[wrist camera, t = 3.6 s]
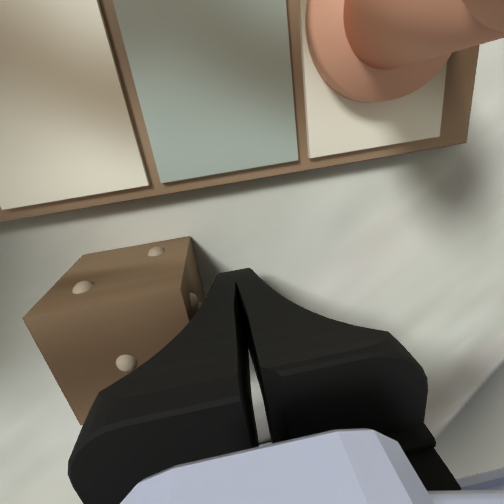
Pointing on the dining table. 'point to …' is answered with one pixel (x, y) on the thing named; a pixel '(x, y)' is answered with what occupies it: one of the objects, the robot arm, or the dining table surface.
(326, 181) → the dining table surface
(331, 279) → the dining table surface
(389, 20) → the pawn
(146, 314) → the die
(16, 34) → the board
